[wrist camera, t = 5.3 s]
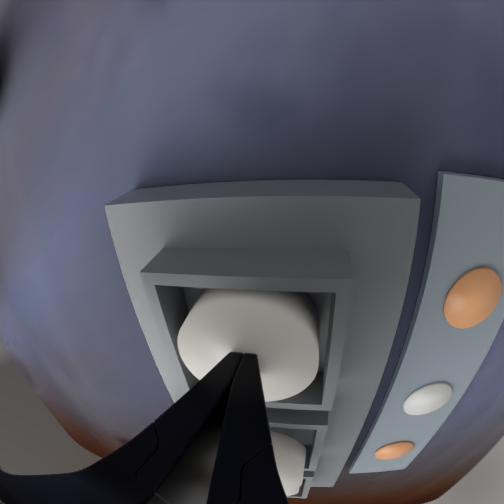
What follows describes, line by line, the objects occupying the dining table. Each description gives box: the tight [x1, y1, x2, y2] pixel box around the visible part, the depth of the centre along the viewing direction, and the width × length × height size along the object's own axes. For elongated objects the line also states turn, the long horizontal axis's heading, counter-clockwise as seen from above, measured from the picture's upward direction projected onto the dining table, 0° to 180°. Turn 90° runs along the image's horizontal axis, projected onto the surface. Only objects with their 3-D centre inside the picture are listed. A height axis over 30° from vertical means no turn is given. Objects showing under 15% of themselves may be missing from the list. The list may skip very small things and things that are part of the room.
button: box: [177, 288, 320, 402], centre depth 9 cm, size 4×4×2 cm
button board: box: [104, 180, 421, 498], centre depth 13 cm, size 23×10×4 cm, turn 5°
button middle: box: [270, 431, 306, 491], centre depth 11 cm, size 4×4×2 cm
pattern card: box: [349, 171, 504, 473], centre depth 13 cm, size 24×5×1 cm, turn 5°
